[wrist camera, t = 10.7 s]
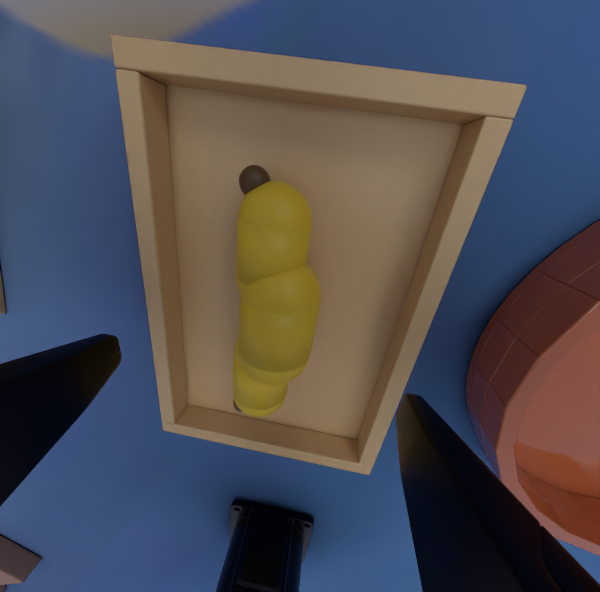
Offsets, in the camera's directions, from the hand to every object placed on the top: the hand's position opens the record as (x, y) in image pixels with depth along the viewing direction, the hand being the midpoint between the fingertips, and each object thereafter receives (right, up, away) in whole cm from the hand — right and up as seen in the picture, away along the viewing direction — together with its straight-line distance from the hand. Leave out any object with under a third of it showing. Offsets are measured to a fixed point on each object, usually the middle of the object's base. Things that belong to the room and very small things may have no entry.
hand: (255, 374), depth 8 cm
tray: (+1, +2, +5) cm, 6 cm away
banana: (+1, +2, +4) cm, 5 cm away
